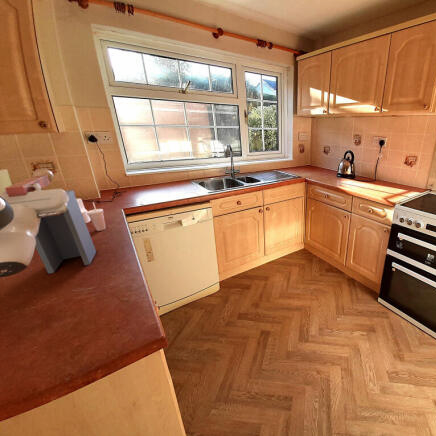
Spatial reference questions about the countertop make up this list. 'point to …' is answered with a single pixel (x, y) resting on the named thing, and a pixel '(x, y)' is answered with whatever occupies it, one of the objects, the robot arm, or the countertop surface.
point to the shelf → (64, 237)
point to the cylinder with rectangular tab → (83, 211)
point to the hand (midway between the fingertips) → (25, 186)
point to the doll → (24, 186)
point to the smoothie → (97, 218)
